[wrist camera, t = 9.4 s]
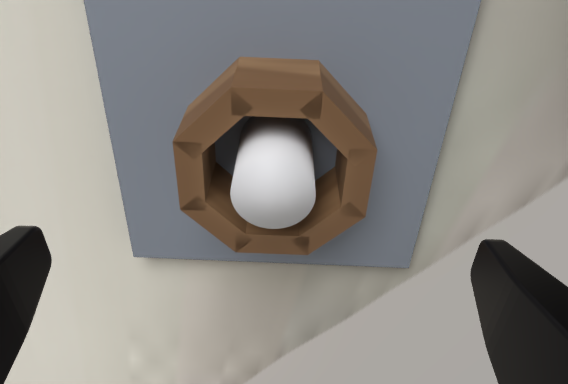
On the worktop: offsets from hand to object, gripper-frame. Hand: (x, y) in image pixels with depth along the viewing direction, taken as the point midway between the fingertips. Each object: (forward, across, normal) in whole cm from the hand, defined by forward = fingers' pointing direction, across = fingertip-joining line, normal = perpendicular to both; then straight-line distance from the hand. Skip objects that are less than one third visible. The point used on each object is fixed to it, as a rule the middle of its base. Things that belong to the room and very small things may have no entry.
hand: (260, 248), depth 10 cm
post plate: (+11, 0, +3) cm, 12 cm away
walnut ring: (+10, 0, +3) cm, 11 cm away
